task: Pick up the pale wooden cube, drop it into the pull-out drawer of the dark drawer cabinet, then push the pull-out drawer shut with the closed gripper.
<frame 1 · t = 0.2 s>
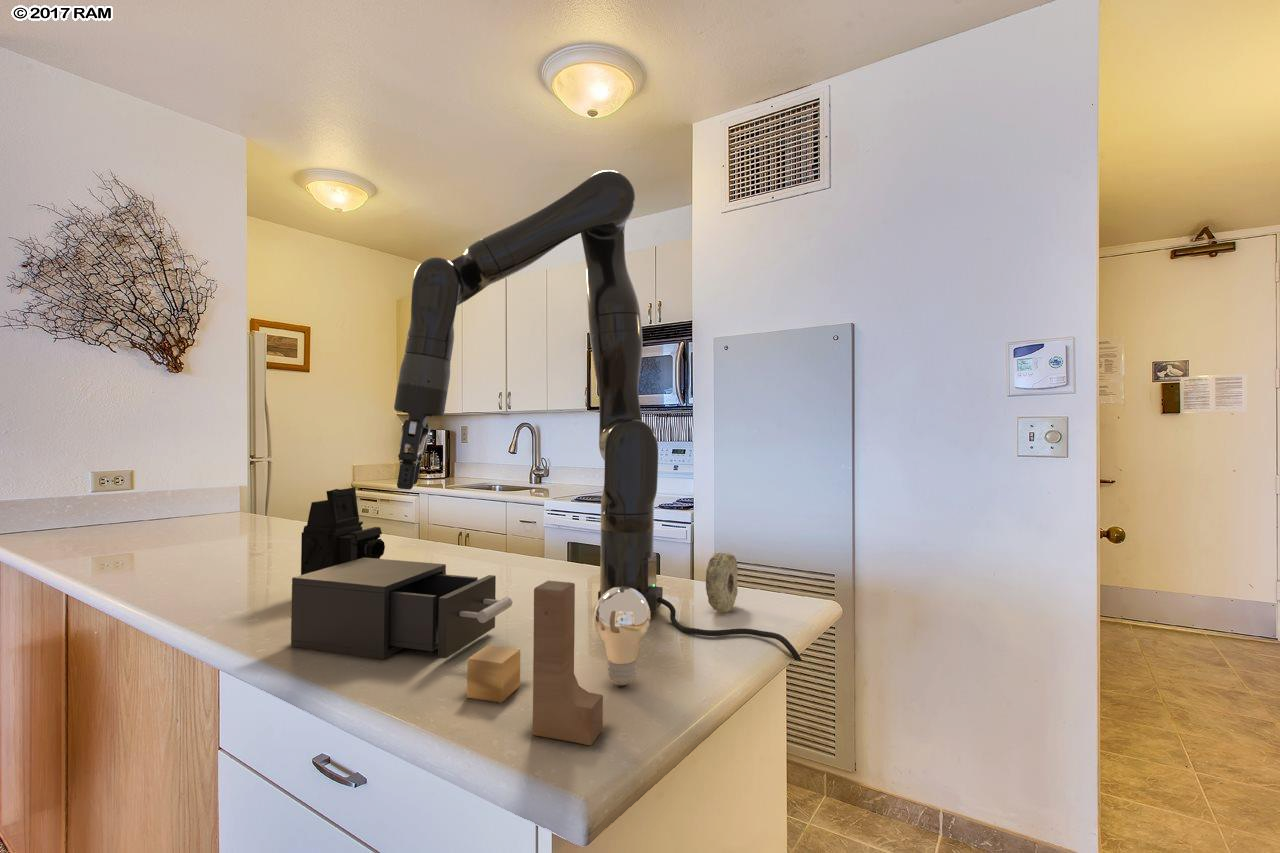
hand: (407, 486, 89), 22 cm above the countertop, tool pointing down, fingers open, 8 cm apart
pull-out drawer: (441, 610, 82), point 5 cm above the countertop, slide at 8.0 cm
wooden block: (567, 734, 58), on the countertop
dark drawer cabinet: (372, 635, 85), on the countertop
cube: (494, 691, 67), on the countertop
camera: (345, 598, 104), on the countertop
stone ring: (722, 611, 99), on the countertop
light bulb: (621, 687, 69), on the countertop
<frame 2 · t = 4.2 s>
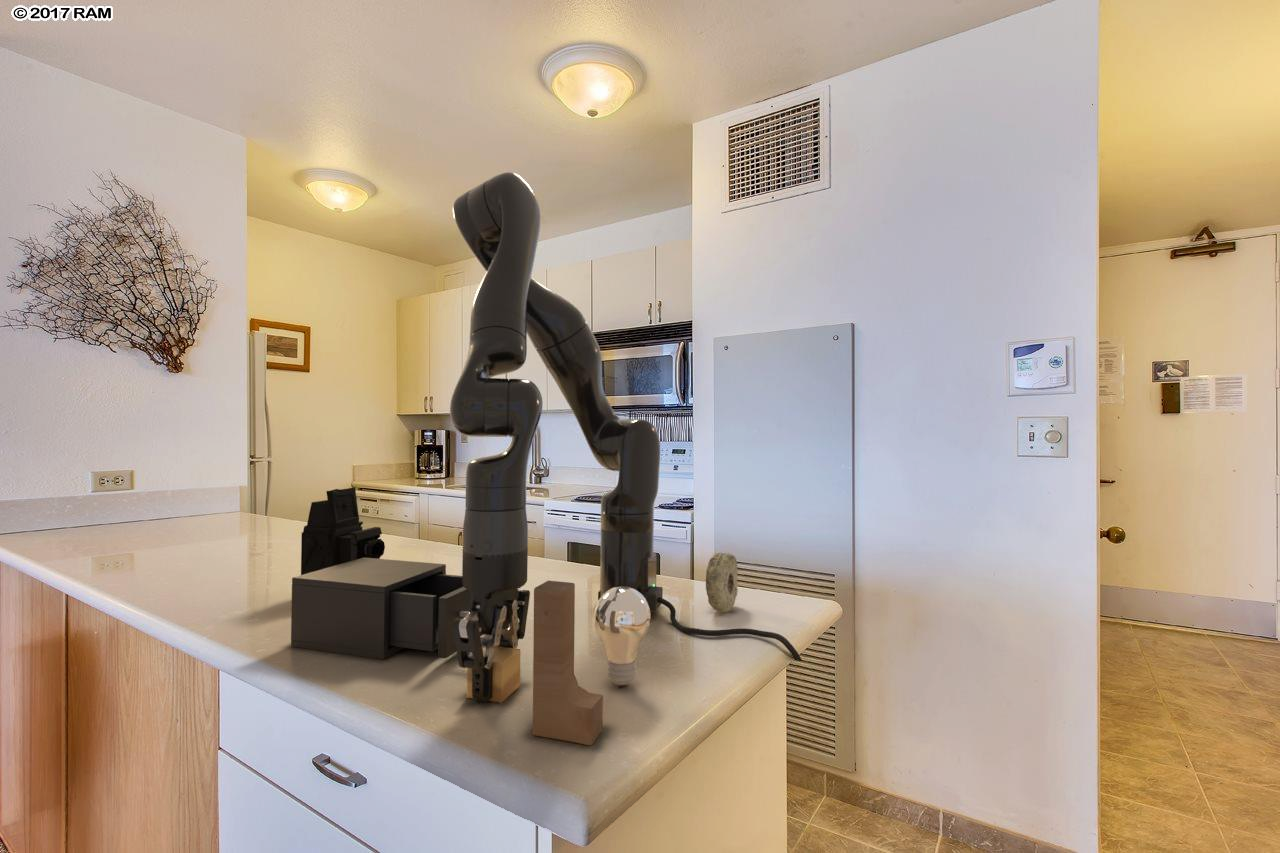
hand: (493, 688, 67), 0 cm above the countertop, tool pointing down, fingers closed on cube, 4 cm apart
cube: (494, 691, 67), on the countertop, touching gripper
everything else where it was.
when the fingers open (8 cm above the countertop, at t = 10.0 s): cube drops 6 cm, resting on pull-out drawer.
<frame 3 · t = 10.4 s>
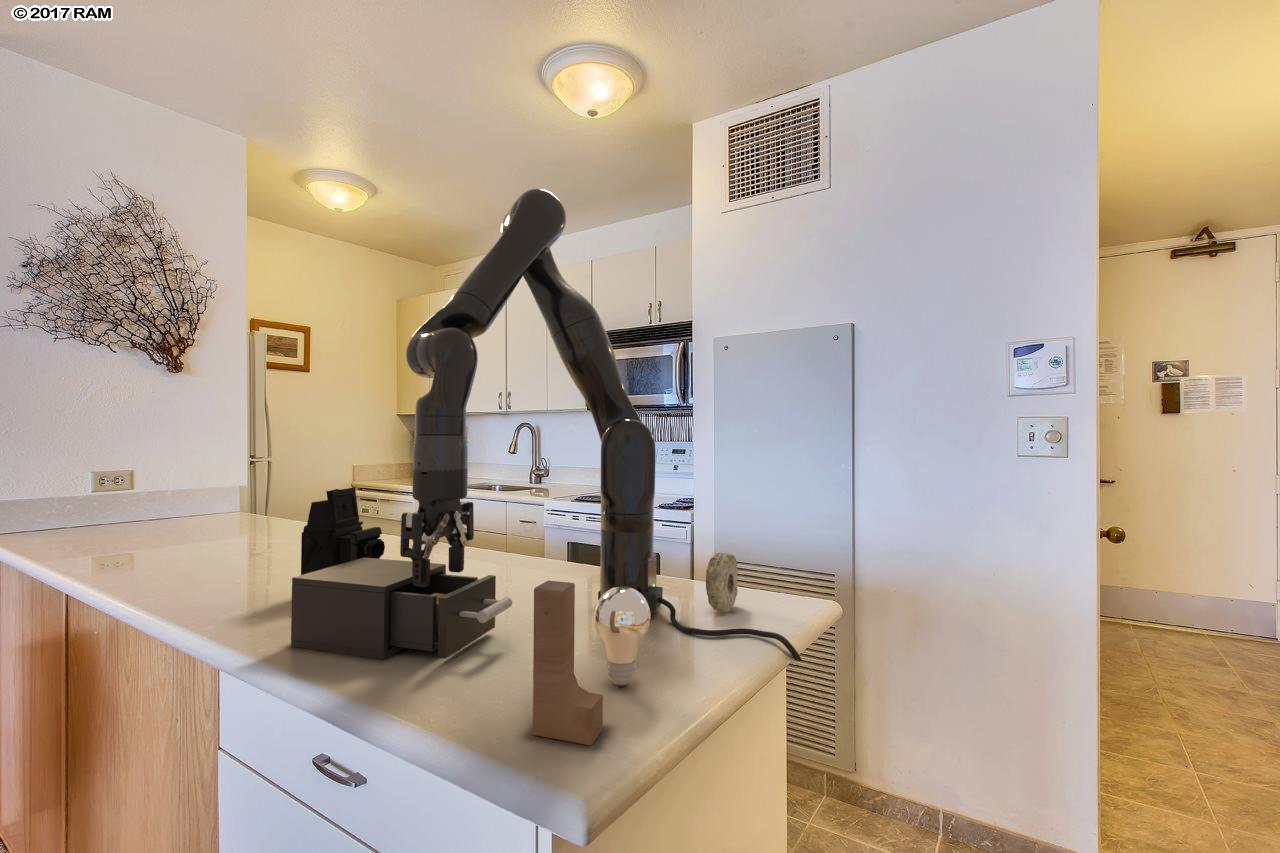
hand: (439, 578, 82), 10 cm above the countertop, tool pointing down, fingers open, 8 cm apart
pull-out drawer: (441, 610, 82), point 5 cm above the countertop, slide at 8.0 cm, touching cube
cube: (438, 629, 82), point 2 cm above the countertop, touching pull-out drawer
everything else where it was.
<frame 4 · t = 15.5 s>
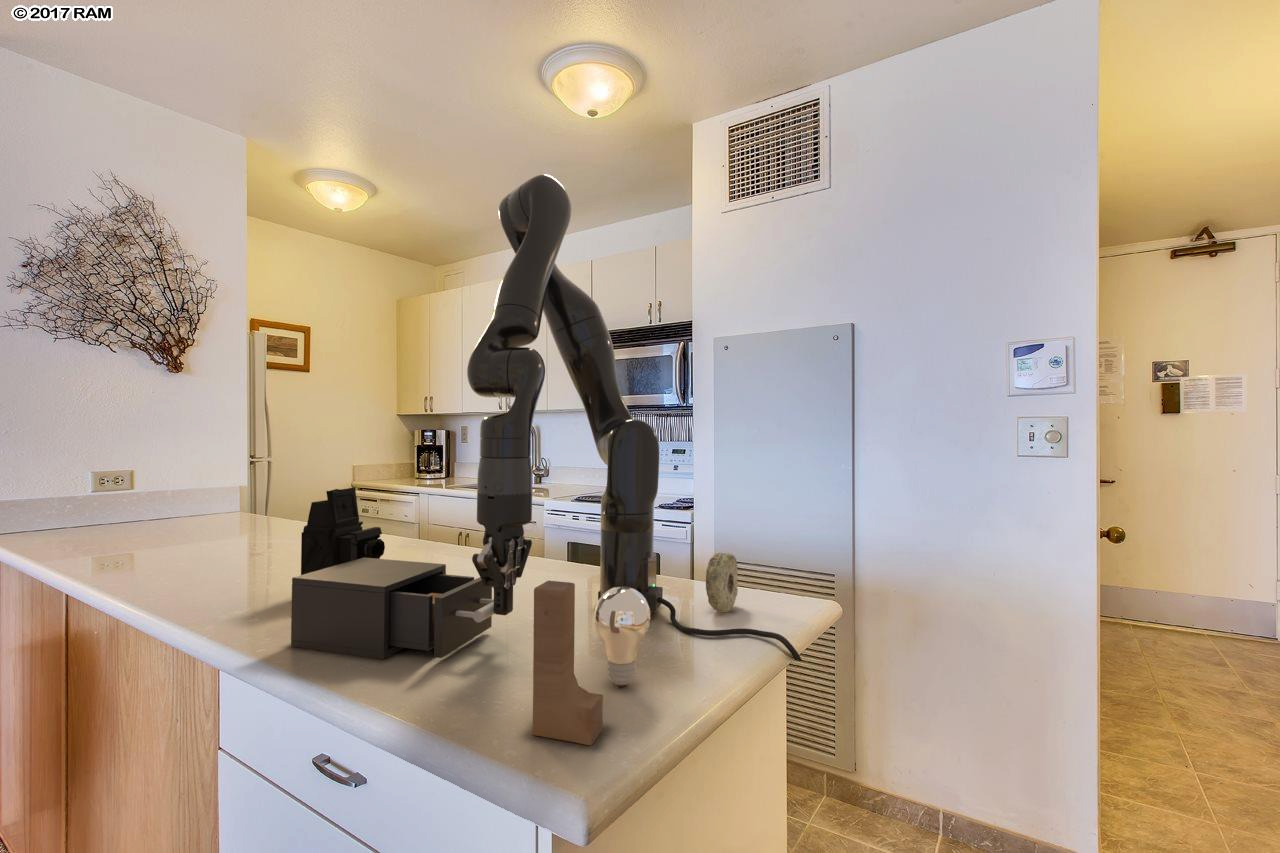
hand: (503, 613, 79), 5 cm above the countertop, tool pointing down, fingers closed
pull-out drawer: (437, 610, 82), point 5 cm above the countertop, slide at 7.4 cm, touching cube, gripper
everything else where it was.
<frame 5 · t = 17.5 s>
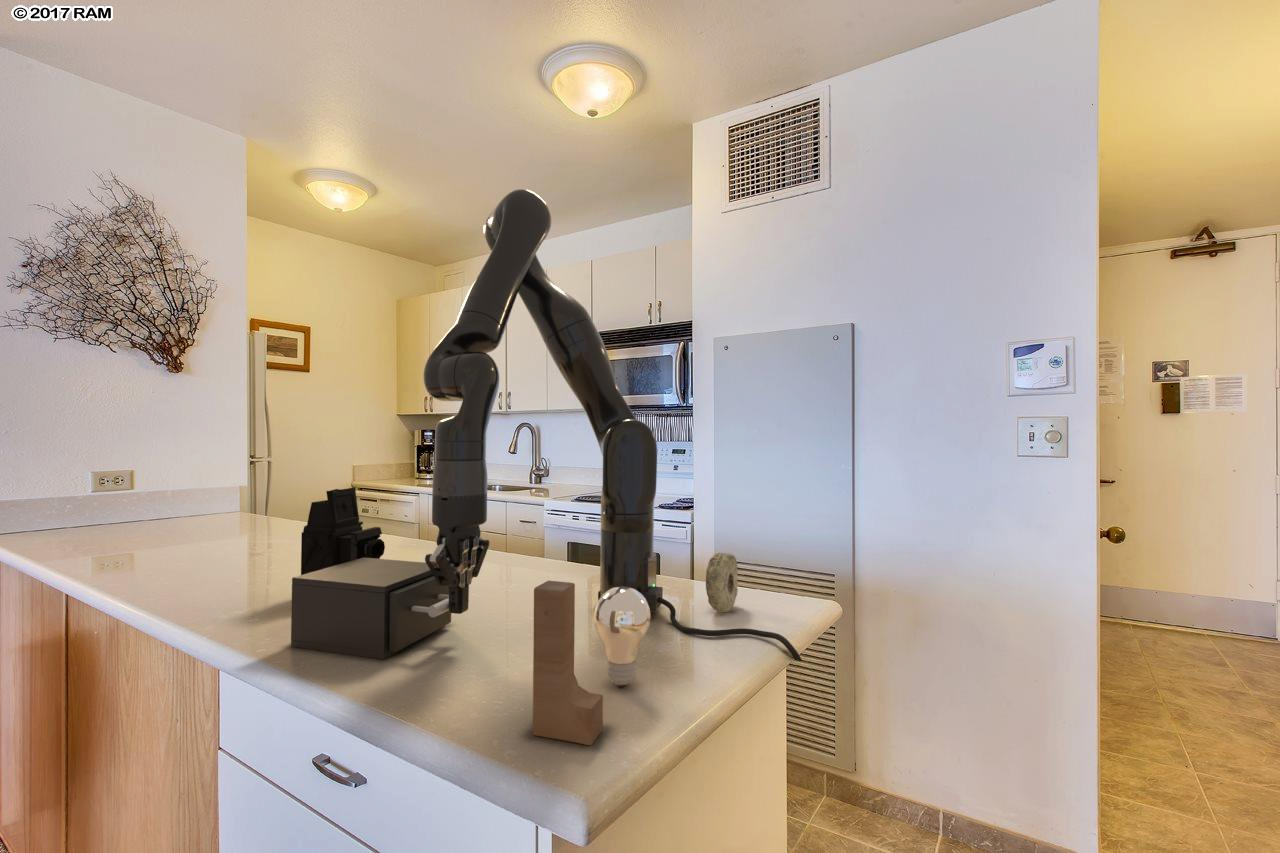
hand: (458, 611, 81), 5 cm above the countertop, tool pointing down, fingers closed
pull-out drawer: (396, 605, 84), point 5 cm above the countertop, slide at 0.3 cm, touching cube, gripper
cube: (393, 624, 84), point 2 cm above the countertop, touching pull-out drawer
everything else where it was.
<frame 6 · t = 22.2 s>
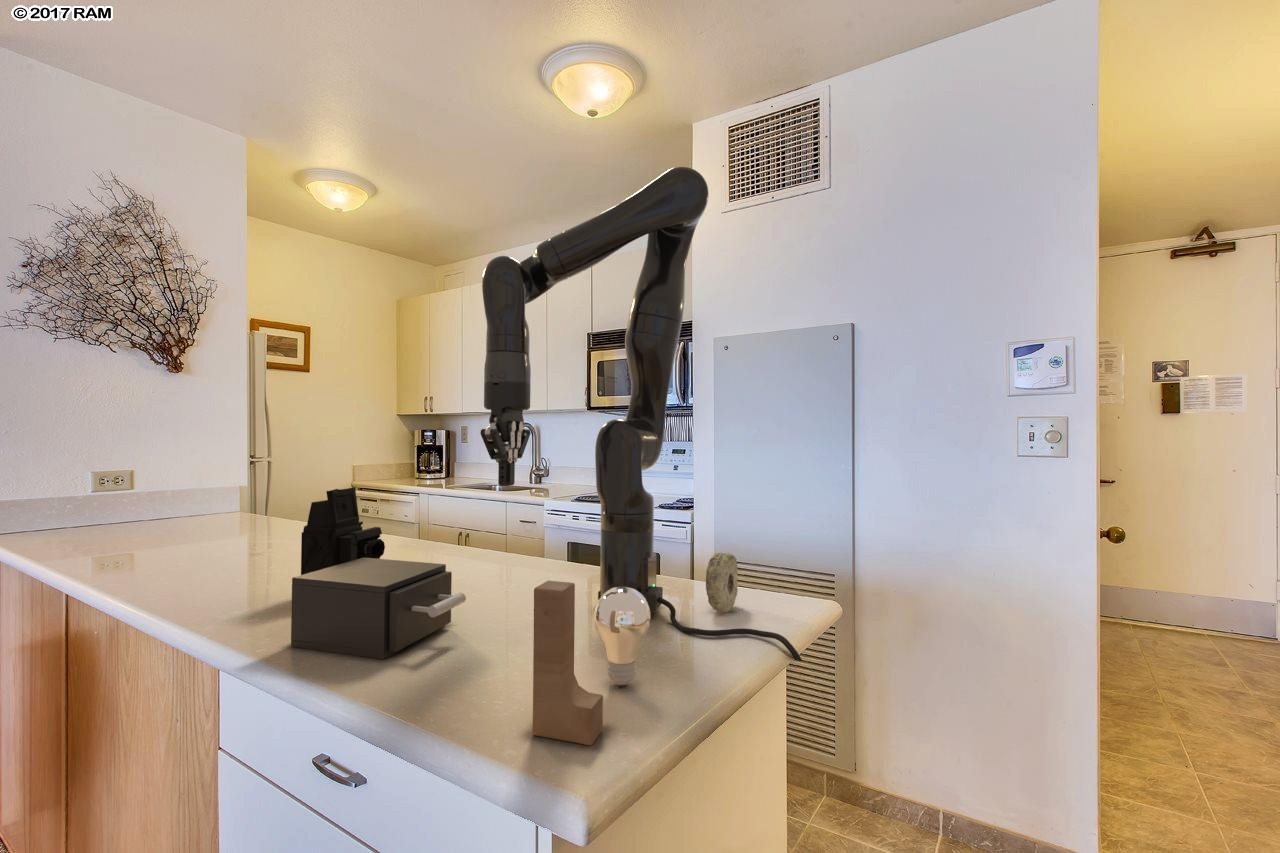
hand: (506, 485, 94), 22 cm above the countertop, tool pointing down, fingers closed
pull-out drawer: (396, 605, 84), point 5 cm above the countertop, slide at 0.3 cm, touching cube
everything else where it was.
at the end: cube inside the target area in the dark drawer cabinet (3.7 cm from its centre), point 2.1 cm above the dark drawer cabinet's base; pull-out drawer slide at 0.3 cm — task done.
